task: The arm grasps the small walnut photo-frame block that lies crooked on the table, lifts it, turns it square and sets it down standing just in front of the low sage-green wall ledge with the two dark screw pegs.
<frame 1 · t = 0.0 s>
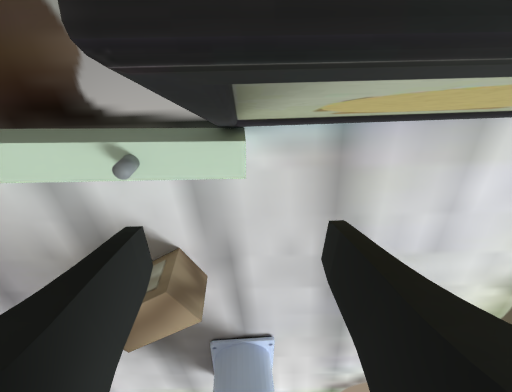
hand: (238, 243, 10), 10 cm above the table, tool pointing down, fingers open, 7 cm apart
frame block: (161, 277, 24), on the table
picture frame: (388, 48, 16), on the table
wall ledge: (60, 146, 17), on the table
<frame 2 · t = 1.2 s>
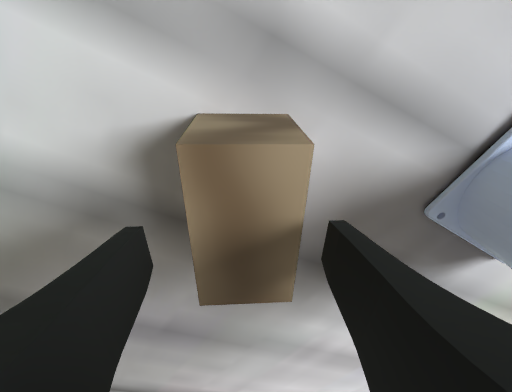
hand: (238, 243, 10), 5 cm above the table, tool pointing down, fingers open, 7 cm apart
frame block: (243, 184, 14), on the table
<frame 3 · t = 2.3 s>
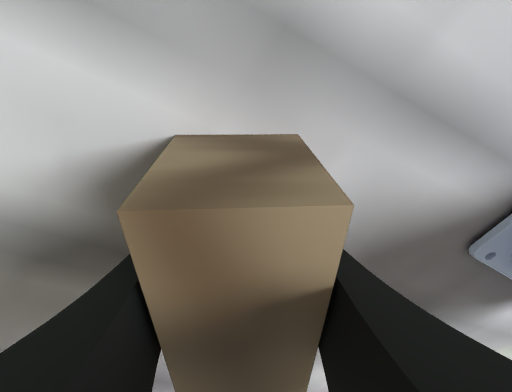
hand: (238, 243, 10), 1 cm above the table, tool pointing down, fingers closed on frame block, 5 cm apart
frame block: (239, 222, 11), on the table, touching gripper
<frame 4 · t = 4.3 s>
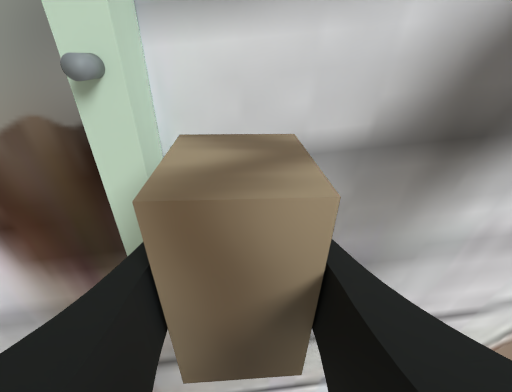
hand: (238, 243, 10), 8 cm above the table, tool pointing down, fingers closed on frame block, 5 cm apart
frame block: (239, 217, 12), point 6 cm above the table, touching gripper
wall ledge: (145, 164, 16), on the table
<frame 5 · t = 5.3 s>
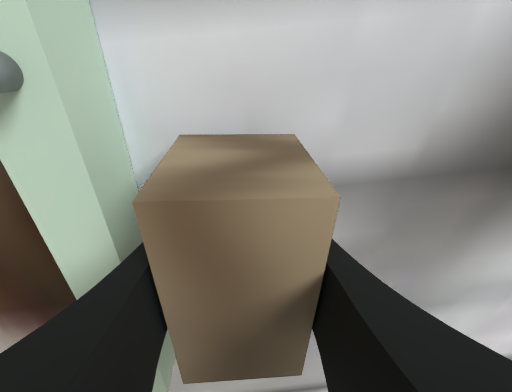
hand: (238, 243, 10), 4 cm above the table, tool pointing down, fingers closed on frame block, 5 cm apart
frame block: (239, 217, 12), point 1 cm above the table, touching gripper
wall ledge: (115, 200, 12), on the table
when the fingers open (2 cm above the table, at t = 6.0 s): frame block stays where it is, on the table.
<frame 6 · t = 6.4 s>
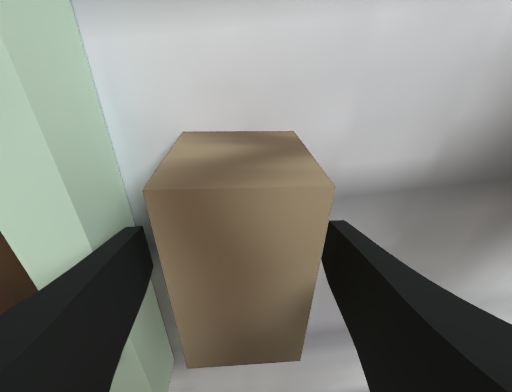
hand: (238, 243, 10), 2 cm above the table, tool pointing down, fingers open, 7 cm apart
frame block: (240, 211, 12), on the table
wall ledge: (103, 213, 11), on the table
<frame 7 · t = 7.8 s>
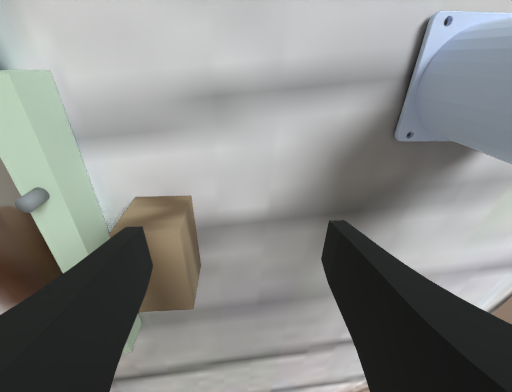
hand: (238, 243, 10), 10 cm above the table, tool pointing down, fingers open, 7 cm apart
frame block: (171, 233, 22), on the table
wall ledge: (95, 235, 21), on the table
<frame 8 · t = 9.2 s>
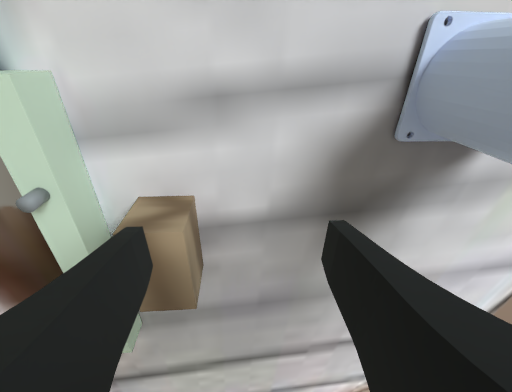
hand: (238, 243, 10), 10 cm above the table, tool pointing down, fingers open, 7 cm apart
frame block: (174, 233, 22), on the table
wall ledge: (95, 235, 21), on the table
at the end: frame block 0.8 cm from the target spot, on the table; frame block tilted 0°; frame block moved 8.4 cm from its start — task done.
